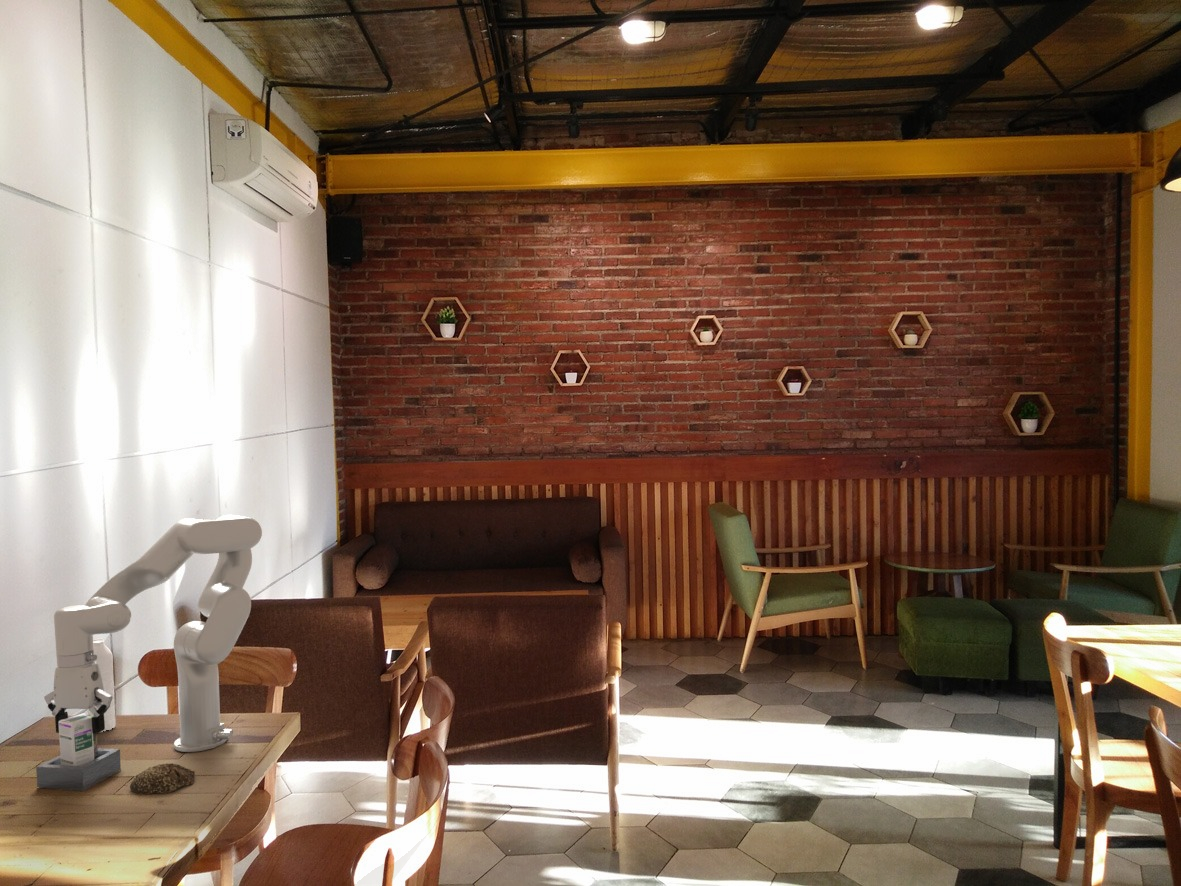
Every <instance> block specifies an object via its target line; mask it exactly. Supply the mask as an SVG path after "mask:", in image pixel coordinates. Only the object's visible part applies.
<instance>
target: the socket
mask: <svg viewBox="0 0 1181 886" xmlns="http://www.w3.org/2000/svg"><path fill="white" fill-rule="evenodd" d="M35 769H36V772H35V773H36V787H39V788H38V789H40V788H48V789H47V790H57V789H62V790H63V791H75V792H76V791H77V792H78V791H79V792H84V791H86V790H87V789H89V788H91V787H93V786H94V784H95V785H96V783H97V784H99V783H100V782H102V781H103V780H106V779H107V778H109V777H111V776H112V775H114V774H116V773H118V772H119V770H120V771H121V770H122V766H121V749H119V748H102V747H99V748H98V758H96V759H94V760H92V761H91V762H89V763H87V764H85V765H83V766H67V765H61V758H60V754H59V755H57V756H56V757H55V756H54V757H53V758H51V759H50V760H47V761H45V762H43V763H41V764H39V765H37V766H36V767H35ZM110 775H111V776H110ZM49 788H50V789H49ZM62 790H61V791H62Z"/></svg>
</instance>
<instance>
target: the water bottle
mask: <svg viewBox="0 0 1181 886" xmlns="http://www.w3.org/2000/svg"><path fill="white" fill-rule="evenodd" d="M93 648H94V655H97V659H96V660H94V662H96V663H98V665H99V668H100V672H101V676H102V681H103V688H104V692H106V693H108V694H109V695H111V696H112V697H113V699H112V701H111V704H110V707H109V708H108V709H107V711H106V713H104V723H105V729H104V730H103V731H104V732H107V731H106V730H109V731H111V730H112V728H113V729H115V728H116V711H115V709H116V708H115V707H116V705H115V690H114V689H115V683H114V679H115V678H114V663H113V661H114V656H113V652H112V651H111V650H110V648H109V647H108V646H107V645H106V644H105V640H104V638H103V637H97V638H93ZM102 704H103V702H102ZM95 708H96V709H97V710H98V708H97V707H96V706H95ZM87 714H90V715H93V714H92V713H91V712H90V710H89V709H87ZM93 716H94V715H93ZM103 731H101V732H100V733H104V732H103Z"/></svg>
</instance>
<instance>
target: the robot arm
mask: <svg viewBox="0 0 1181 886" xmlns="http://www.w3.org/2000/svg"><path fill="white" fill-rule="evenodd" d="M262 534H263V531H262V526H261V524H260V523H259V521H257V520H256V519H254V518H252V517H248V516H242V515H235V514H225V515H222V516H221V515H220V516H219V517H218V518H217V519H216V520H215V519H212V520H211V519H204V520H203V519H196V518H183V519H181V520H179V521H177V522H175V523H174V524H173V525H172V526H171V527H170V528H169V529H168V530H167V531H166V532H165V533H164V534H163V535H162V536H161V537H160V538H159V539H158V540H157V541H156V542H155V543H154V544H153V545H152V546H151V547H150V548H149V549H148V550H147V551H146V552H145V553H143V555H142V556H140V557H139V558H138V559H137V560H136V561H135V562H133V563H131V564H129V565H128V566H127V567H126V568H124V569H122V570H121V571H119V572H118V573H117V574H115V575H114V576H112V577H111V578H110V579H109V580H107V581H106V582H105V583H104V584H103V585H102V586H101V587H100V588H99V589H98V590H97V591H96V592H95V593H94V594H93V595H92V596H90V598H89V599H88V600H87V602H86V603H85V605H84V604H78V605H77V604H76V605H68V606H64V607H61V608H59V609H57V610H56V611H55V612H54V615H53V621H54V622H53V624H54V635H55V636H54V637H55V639H54V640H55V653H56V666H55V670H54V675H53V676H54V679H53V691H51V692H49V693H47V694H46V695H44V696H43V698H44V701H45V702H46V704H47V708H48V709H49V710H50V711H51V715H52V716H53V717H54V721H55V732H56V733H57V734H59V721H60V720H63V719H67V718H69V713H68V711H66V710H67V709H69V710H88V709H89V710H90V712H91V713H92V714H93V715H94V717H92V733H93V734H97V735H98V734H99V733H102V732H101V731H103V730H104V729H105V723H104V713H106V711H107V709H108V708H109V707H110V704H111V701H112V699H113V697H112V696H111V695H109V694H108V693H106V692H104V688H103V681H102V676H101V672H100V668H99V665H98V663H96V662H94V660H96V659H97V655H94V648H93V642H94V636H93V635H105V634H106V635H107V634H114V633H115V634H116V633H118V632H120V631H122V630H124V629H126V627H128V626H129V624H130V622H131V620H132V611H131V610H130V608H129V606H128V605H127V603H129V602H130V601H131V600H132V599H133V598H134V597H136V596H137V595H139V594H141V593H142V592H144V591H146V590H149V589H152V588H155V587H157V586H160V585H162V584H165V583H166V582H167V581H169V579H171V577H172V576H173V575H174V574H175V573H176V572H177V571H178V570H179V569H180V568H181V567H183V565H184V564H185V563H186V562H187V561H188V560H189V559H190V558H191V557H192V556H193V555H194V554H197V555H198V554H199V555H207V554H218V558H217V562H216V565H215V567H214V569H213V571H212V573H211V576H210V577H209V579H208V581H207V583H206V585H205V587H204V588H203V591H202V592H201V594H200V597H199V599H198V603H197V607H198V610H199V612H200V613H201V614H202V615H203V616H204V617H206V618H207V619H206V621H200V620H193V621H189V622H186V623H185V624H183V625H182V626H181V627H179V629H177V631H176V633H175V635H174V638H173V651H174V655H175V656H174V657H175V662H176V667H177V678H178V679H177V680H178V684H177V685H178V709H179V710H178V712H179V736H180V737H178V738H177V739H176V740H174V742H173V749H175V750H176V751H178V752H183V753H194V752H195V753H197V752H201V751H203V752H204V751H207V750H211V749H214V748H216V747H219V746H222V745H223V744H225V743H226V742H227V740H228V741H229V740H231V739H232V738H233V733H234V729H233V728H225V723H224V722H221V713H220V712H221V711H220V710H221V709H220V707H221V706H220V704H221V703H220V682H219V681H220V680H219V679H220V677H219V675H220V674H219V667H218V664H220V663H221V662H223V661H224V660H225V659H226V658H228V656H229V655H230V654H231V652H232V650H233V648H234V647H235V645H236V643H237V641H238V639H239V637H240V635H241V633H242V631H243V629H244V627H245V625H246V622H247V620H248V618H249V616H250V613H251V609H252V599H251V597H250V596H251V595H250V594H249V593H248V591H247V590H245V589H244V586H245V584H246V582H247V579H248V576H249V574H250V572H251V568H252V563H253V554H252V548H254V547H255V546H256V545H258V544H259V542H260V541H261V539H262V536H263V535H262ZM102 702H103V704H102ZM95 706H96V707H97V708H98V710H97V709H96V708H95Z"/></svg>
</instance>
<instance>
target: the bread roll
mask: <svg viewBox="0 0 1181 886" xmlns="http://www.w3.org/2000/svg"><path fill="white" fill-rule="evenodd" d="M194 777H195V771H194V770H192V769H190V768H187V767H185V766H181V765H180V764H177V763H161V764H157V765H154V766H150V767H148V768H146V769H144V770H143V771H141V772H140V773H138V774H136V776H135V778H133V779H132V780H131V783H130V785H129V790H130V791H132V792H134V793H137V794H141V795H143V794H144V795H165V794H170V793H171V794H172V792H175V791H176V790H179V789H180V788H182V787H184V786H186V787H188V786H192V785H193V784H194V783H195V778H194Z"/></svg>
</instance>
